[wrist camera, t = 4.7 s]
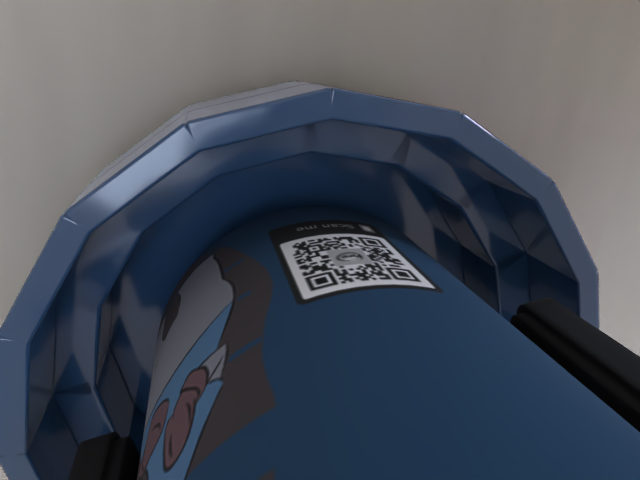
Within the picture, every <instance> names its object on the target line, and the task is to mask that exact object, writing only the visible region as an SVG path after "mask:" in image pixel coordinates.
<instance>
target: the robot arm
mask: <svg viewBox="0 0 640 480" xmlns="http://www.w3.org/2000/svg"><path fill="white" fill-rule="evenodd" d="M510 324H512V325H513V326H514V327H515V328H516V329H518V330H519V331H520V332H521V333H522V334H524V335H525V336H526V337H527V338H528V339H529V340H531V341H532V342H533V343H534V344H535V345H537V346H538V347H539V348H540V349H541V350H543V351H544V352H545V353H546V354H547V355H548V356H550V357H551V358H552V359H553V360H554V361H556V362H557V363H558V364H559V365H560V366H562V367H563V368H564V369H565V370H566V371H567V372H569V373H570V374H571V375H572V376H573V377H575V378H576V379H577V380H578V381H579V382H581V383H582V384H583V385H584V386H585V387H586V388H588V389H589V390H590V391H591V392H592V393H594V394H595V395H596V396H597V397H598V398H599V399H601V400H602V401H603V402H604V403H605V404H607V405H608V406H609V407H610V408H611V409H613V410H614V411H615V412H616V413H617V414H618V415H620V416H621V417H622V418H623V419H624V420H626V421H627V422H628V423H629V424H630V425H632V426H633V427H634V428H635V429H636V430H637V431H639V432H640V357H639V356H638V355H636V354H635V353H633V352H632V351H630V350H629V349H627V348H626V347H624V346H623V345H621V344H620V343H618V342H617V341H615V340H614V339H612V338H611V337H609V336H608V335H606V334H605V333H603V332H602V331H600V330H599V329H597V328H596V327H594V326H593V325H591V324H590V323H588V322H587V321H585V320H584V319H582V318H581V317H579V316H578V315H576V314H575V313H573V312H572V311H570V310H569V309H567V308H566V307H564V306H563V305H561V304H560V303H558V302H557V301H555V300H554V299H552V298H550V297H545V298H542V299H538V300H535V301H532V302H529V303H526V304H522V305H520V306H519V307H518V308H517V313H516V315H513V316H512V317H511V320H510ZM139 461H140V455H139V453H138V450H137V448H136V446H135V443H134V441H133V439H132V438H131V437H130V436H127V437H124V438H121V436H120V435H119V434H118V433H117V432H115V431H114V432H111V433H108V434H105V435H101V436H98V437H95V438H92V439H88V440H85V441H83V442H81V443H80V445H79V447H78V449H77V453H76V456H75V459H74V462H73V465H72V469H71V472H70V475H69V478H68V480H137V475H138V468H139Z"/></svg>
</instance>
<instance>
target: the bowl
mask: <svg viewBox="0 0 640 480" xmlns="http://www.w3.org/2000/svg"><path fill="white" fill-rule="evenodd" d="M300 207H337V208H343V209H349V210H353V211H357V212H361V213H364V214H367V215H370V216H373V217H375V218H377V219H380V220H382V221H384V222H386V223H388V224H389V225H391V226H393V227H395V228H396V229H398V230H399V231H401V232H402V233H403V234H405V235H406V236H407V237H408V238H410V239H411V240H412V241H413V242H414V243H416V244H417V245H418V246H419V247H420V248H421V249H423V250H424V251H425V252H426V253H427V254H429V255H430V256H431V257H432V258H433V259H434V260H436V261H437V262H438V263H439V264H440V265H442V266H443V267H444V268H445V269H446V270H448V271H449V272H450V273H451V274H452V275H453V276H455V277H456V278H457V279H458V280H459V281H461V282H462V283H463V284H464V285H465V286H467V287H468V288H469V289H470V290H471V291H472V292H474V293H475V294H476V295H477V296H478V297H480V298H481V299H482V300H483V301H484V302H486V303H487V304H488V305H489V306H490V307H491V308H493V309H494V310H495V311H496V312H497V313H499V314H500V315H501V316H502V317H503V318H505V319H506V320H507V321H508V322H509V323H510V320H511V317H512V316H513V315H516V313H517V308H518V307H519V306H520V305H522V304H526V303H529V302H532V301H535V300H538V299H542V298H545V297H550V298H552V299H554V300H555V301H557V302H558V303H560V304H561V305H563V306H564V307H566V308H567V309H569V310H570V311H572V312H573V313H575V314H576V315H578V316H579V317H581V318H582V319H584V320H585V321H587V322H588V323H590V324H591V325H593V326H594V327H596V328H597V329H599V277H598V272H597V268H596V266H595V264H594V262H593V260H592V257H591V255H590V253H589V251H588V249H587V247H586V245H585V243H584V241H583V239H582V237H581V235H580V233H579V231H578V229H577V227H576V225H575V223H574V221H573V219H572V217H571V215H570V213H569V210H568V208H567V206H566V204H565V202H564V200H563V198H562V196H561V194H560V192H559V190H558V188H557V186H556V184H555V182H553V180H552V179H551V178H550V177H549V176H548V175H546V174H545V173H544V172H542V171H541V170H539V169H538V168H537V167H535V166H534V165H533V164H531V163H530V162H529V161H527V160H526V159H525V158H523V157H522V156H521V155H519V154H518V153H517V152H515V151H514V150H513V149H511V148H510V147H509V146H507V145H506V144H505V143H503V142H502V141H501V140H499V139H498V138H497V137H495V136H494V135H493V134H491V133H490V132H489V131H487V130H486V129H485V128H483V127H482V126H481V125H479V124H478V123H477V122H475V121H474V120H473V119H471V118H470V117H469V116H467V115H466V114H465V113H461V112H459V111H457V110H451V109H446V108H441V107H435V106H430V105H425V104H419V103H414V102H409V101H404V100H398V99H393V98H388V97H382V96H377V95H372V94H366V93H361V92H356V91H350V90H345V89H340V88H335V87H329V86H323V85H318V84H312V83H307V82H301V81H288V82H284V83H280V84H275V85H271V86H267V87H262V88H258V89H254V90H250V91H245V92H241V93H237V94H232V95H228V96H224V97H220V98H215V99H211V100H207V101H202V102H198V103H194V104H191V105H190V107H189V106H187V107H185V108H184V109H182V110H181V111H180V112H178V113H177V114H176V115H174V116H173V117H172V118H170V119H169V120H168V121H166V122H165V123H164V124H162V125H161V126H160V127H158V128H157V129H156V130H154V131H153V132H152V133H150V134H149V135H148V136H146V137H145V138H144V139H142V140H141V141H140V142H138V143H137V144H136V145H134V146H133V147H131V148H130V149H129V150H127V151H126V152H125V153H123V154H122V155H121V156H119V157H118V158H117V159H115V160H114V161H113V162H111V163H110V164H109V165H107V166H106V167H105V168H104V169H103V170H102V171H101V172H100V173H99V174H98V175H97V176H96V178H95V179H94V180H93V181H92V182H91V183H90V184H89V185H88V186H87V187H86V188H85V190H84V191H83V192H82V193H81V194H80V195H79V196H78V197H77V198H76V199H75V201H74V202H73V203H72V204H71V205H70V206H69V207H68V208H67V209H66V211H65V212H64V213H63V214H62V215H61V217H60V218H59V220H58V222H57V224H56V226H55V228H54V230H53V231H52V233H51V235H50V237H49V239H48V241H47V243H46V244H45V246H44V248H43V250H42V252H41V254H40V256H39V257H38V259H37V261H36V263H35V265H34V267H33V268H32V270H31V272H30V274H29V276H28V278H27V280H26V281H25V283H24V285H23V287H22V289H21V291H20V293H19V294H18V296H17V298H16V300H15V302H14V304H13V306H12V307H11V309H10V311H9V313H8V315H7V317H6V319H5V320H4V322H3V324H2V326H1V328H0V465H1V467H2V468H3V470H4V472H5V474H6V476H7V477H8V479H9V480H68V478H69V475H70V472H71V469H72V465H73V462H74V459H75V456H76V453H77V449H78V447H79V445H80V443H81V442H83V441H85V440H88V439H92V438H95V437H98V436H101V435H105V434H108V433H111V432H114V431H115V432H117V433H118V434H119V435H120V436H121V438H124V437H127V436H130V437H131V438H132V439H133V441H134V443H135V446H136V448H137V450H138V453H139V455H140V454H141V447H142V441H143V434H144V427H145V420H146V413H147V407H148V400H149V393H150V386H151V379H152V373H153V366H154V359H155V352H156V345H157V339H158V332H159V327H160V323H161V319H162V316H163V313H164V310H165V308H166V305H167V303H168V301H169V298H170V297H171V295H172V293H173V291H174V289H175V287H176V286H177V284H178V282H179V281H180V279H181V278H182V276H183V275H184V274H185V272H186V271H187V270H188V268H189V267H190V266H191V265H192V264H193V263H194V262H195V260H196V259H197V258H198V257H199V256H200V255H201V254H202V253H203V252H204V251H206V250H207V249H208V248H209V247H210V246H211V245H213V244H214V243H215V242H216V241H218V240H219V239H220V238H222V237H223V236H225V235H226V234H228V233H229V232H231V231H233V230H234V229H236V228H238V227H240V226H242V225H244V224H246V223H248V222H250V221H252V220H255V219H257V218H260V217H262V216H265V215H268V214H271V213H275V212H279V211H283V210H287V209H294V208H300Z"/></svg>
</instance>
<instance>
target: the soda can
mask: <svg viewBox="0 0 640 480" xmlns="http://www.w3.org/2000/svg"><path fill="white" fill-rule="evenodd" d="M137 480H640V432H639V431H637V430H636V429H635V428H634V427H633V426H632V425H630V424H629V423H628V422H627V421H626V420H624V419H623V418H622V417H621V416H620V415H618V414H617V413H616V412H615V411H614V410H613V409H611V408H610V407H609V406H608V405H607V404H605V403H604V402H603V401H602V400H601V399H599V398H598V397H597V396H596V395H595V394H594V393H592V392H591V391H590V390H589V389H588V388H586V387H585V386H584V385H583V384H582V383H581V382H579V381H578V380H577V379H576V378H575V377H573V376H572V375H571V374H570V373H569V372H567V371H566V370H565V369H564V368H563V367H562V366H560V365H559V364H558V363H557V362H556V361H554V360H553V359H552V358H551V357H550V356H548V355H547V354H546V353H545V352H544V351H543V350H541V349H540V348H539V347H538V346H537V345H535V344H534V343H533V342H532V341H531V340H529V339H528V338H527V337H526V336H525V335H524V334H522V333H521V332H520V331H519V330H518V329H516V328H515V327H514V326H513V325H512V324H510V323H509V322H508V321H507V320H506V319H505V318H503V317H502V316H501V315H500V314H499V313H497V312H496V311H495V310H494V309H493V308H491V307H490V306H489V305H488V304H487V303H486V302H484V301H483V300H482V299H481V298H480V297H478V296H477V295H476V294H475V293H474V292H472V291H471V290H470V289H469V288H468V287H467V286H465V285H464V284H463V283H462V282H461V281H459V280H458V279H457V278H456V277H455V276H453V275H452V274H451V273H450V272H449V271H448V270H446V269H445V268H444V267H443V266H442V265H440V264H439V263H438V262H437V261H436V260H434V259H433V258H432V257H431V256H430V255H429V254H427V253H426V252H425V251H424V250H423V249H421V248H420V247H419V246H418V245H417V244H416V243H414V242H413V241H412V240H411V239H410V238H408V237H407V236H406V235H405V234H403V233H402V232H401V231H399V230H398V229H396V228H395V227H393V226H391V225H389V224H388V223H386V222H384V221H382V220H380V219H377V218H375V217H373V216H370V215H367V214H364V213H361V212H357V211H353V210H349V209H343V208H337V207H300V208H294V209H287V210H283V211H279V212H275V213H271V214H268V215H265V216H262V217H260V218H257V219H255V220H252V221H250V222H248V223H246V224H244V225H242V226H240V227H238V228H236V229H234V230H233V231H231V232H229V233H228V234H226V235H225V236H223V237H222V238H220V239H219V240H218V241H216V242H215V243H214V244H213V245H211V246H210V247H209V248H208V249H207V250H206V251H204V252H203V253H202V254H201V255H200V256H199V257H198V258H197V259H196V260H195V262H194V263H193V264H192V265H191V266H190V267H189V268H188V270H187V271H186V272H185V274H184V275H183V276H182V278H181V279H180V281H179V282H178V284H177V286H176V287H175V289H174V291H173V293H172V295H171V297H170V298H169V301H168V303H167V305H166V308H165V310H164V313H163V316H162V319H161V323H160V327H159V332H158V339H157V345H156V352H155V359H154V366H153V373H152V379H151V386H150V393H149V400H148V407H147V413H146V420H145V427H144V434H143V441H142V447H141V454H140V461H139V468H138V475H137Z"/></svg>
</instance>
